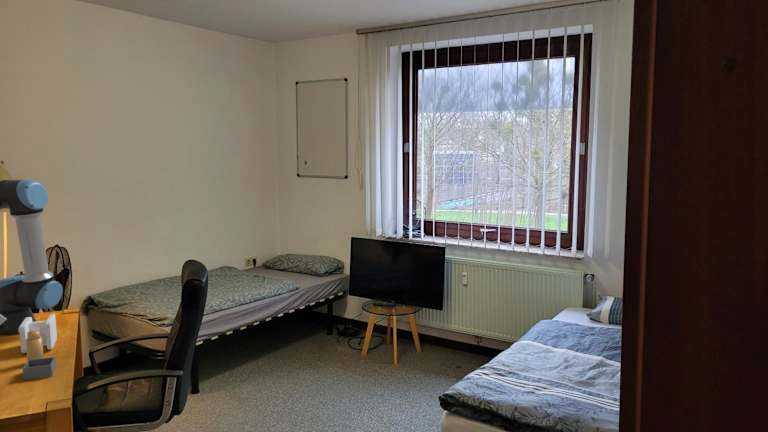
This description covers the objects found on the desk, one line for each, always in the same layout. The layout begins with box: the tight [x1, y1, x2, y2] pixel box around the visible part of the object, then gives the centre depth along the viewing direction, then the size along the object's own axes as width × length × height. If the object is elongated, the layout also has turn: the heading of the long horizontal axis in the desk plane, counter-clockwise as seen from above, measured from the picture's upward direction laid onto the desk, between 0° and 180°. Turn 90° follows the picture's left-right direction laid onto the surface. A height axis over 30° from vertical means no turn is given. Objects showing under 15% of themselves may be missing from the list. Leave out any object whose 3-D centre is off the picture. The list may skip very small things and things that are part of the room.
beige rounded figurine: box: [26, 330, 45, 362], centre depth 207 cm, size 5×5×12 cm
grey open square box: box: [22, 356, 57, 381], centre depth 197 cm, size 8×8×4 cm
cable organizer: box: [18, 313, 58, 354], centre depth 223 cm, size 15×11×12 cm
